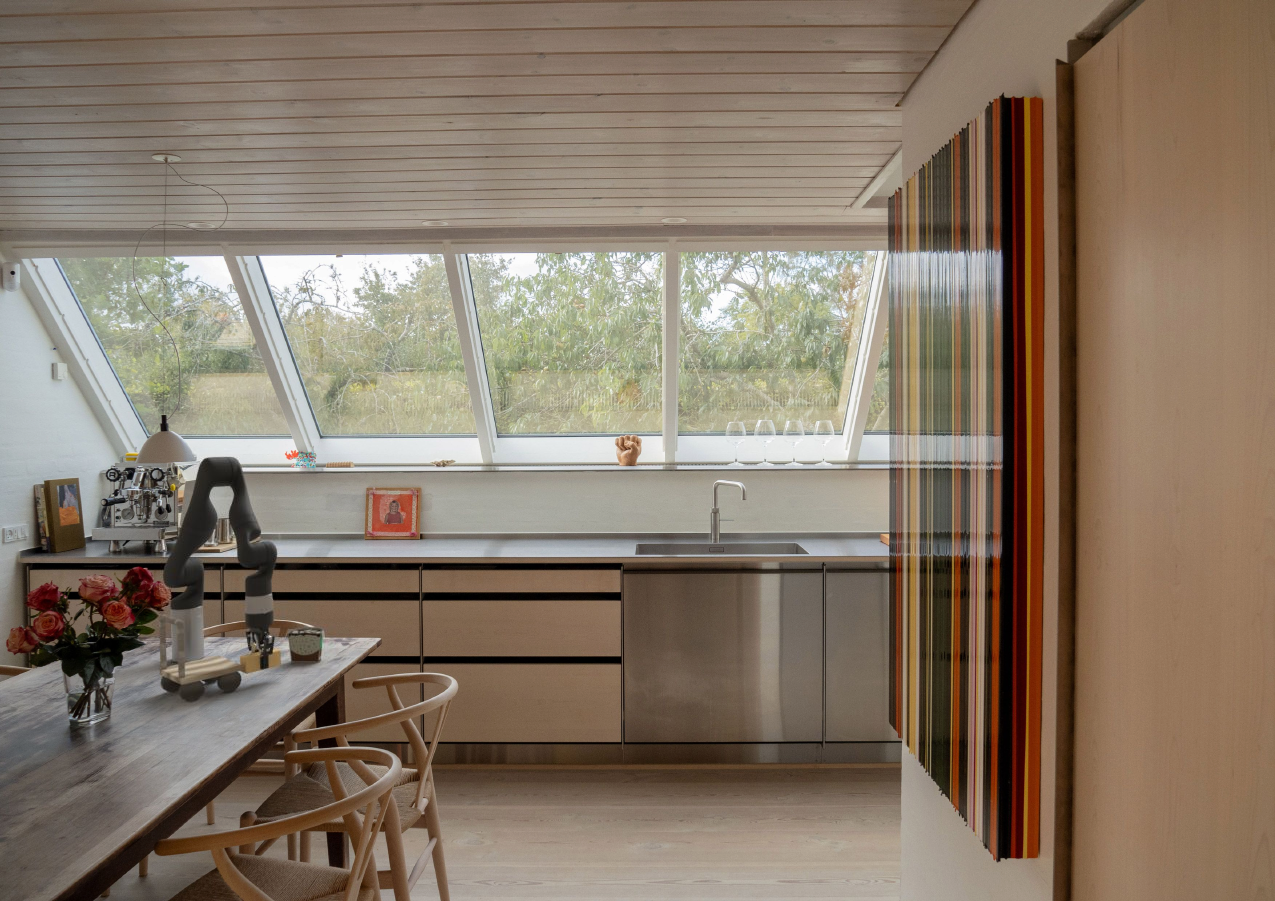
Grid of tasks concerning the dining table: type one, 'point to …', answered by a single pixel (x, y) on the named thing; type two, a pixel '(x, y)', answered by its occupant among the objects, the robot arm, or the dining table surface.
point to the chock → (253, 661)
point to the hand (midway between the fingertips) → (260, 666)
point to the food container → (305, 644)
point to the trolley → (194, 668)
